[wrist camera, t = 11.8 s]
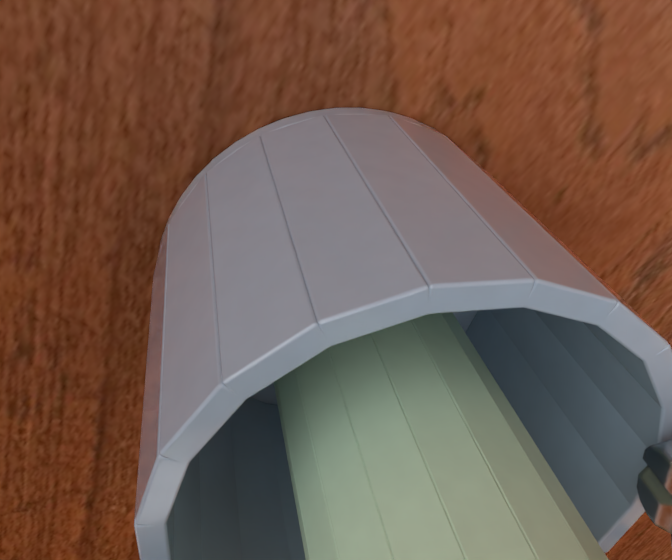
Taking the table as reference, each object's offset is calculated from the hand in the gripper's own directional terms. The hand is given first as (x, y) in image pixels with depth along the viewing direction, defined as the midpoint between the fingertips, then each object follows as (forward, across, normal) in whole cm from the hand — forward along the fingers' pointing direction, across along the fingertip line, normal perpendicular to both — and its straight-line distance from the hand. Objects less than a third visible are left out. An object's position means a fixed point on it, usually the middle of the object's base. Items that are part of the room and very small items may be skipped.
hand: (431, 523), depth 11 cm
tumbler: (+8, 0, 0) cm, 8 cm away
